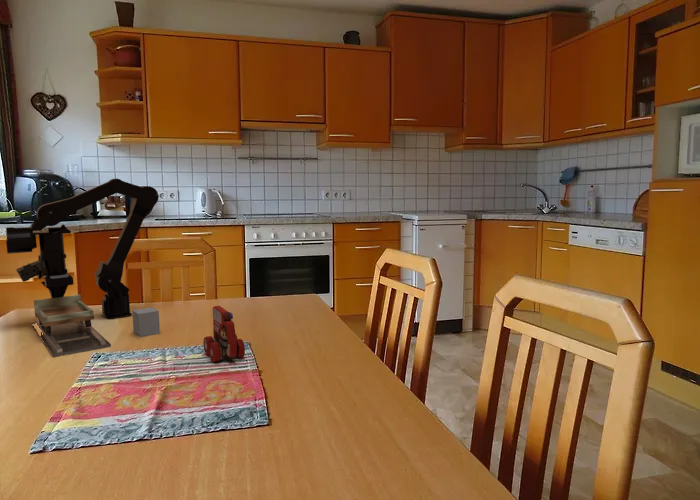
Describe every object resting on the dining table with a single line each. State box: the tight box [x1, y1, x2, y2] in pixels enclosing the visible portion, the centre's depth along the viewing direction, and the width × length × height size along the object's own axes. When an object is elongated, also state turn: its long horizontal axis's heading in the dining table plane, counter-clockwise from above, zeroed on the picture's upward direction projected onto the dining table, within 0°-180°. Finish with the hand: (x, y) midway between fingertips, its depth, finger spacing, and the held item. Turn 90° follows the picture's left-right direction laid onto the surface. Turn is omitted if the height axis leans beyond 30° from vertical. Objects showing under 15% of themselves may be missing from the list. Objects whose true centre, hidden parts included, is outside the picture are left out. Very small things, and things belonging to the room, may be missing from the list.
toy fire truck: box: [203, 305, 246, 363], centre depth 116 cm, size 7×12×10 cm, turn 30°
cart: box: [33, 294, 95, 334], centre depth 136 cm, size 11×16×6 cm
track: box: [35, 319, 112, 357], centre depth 133 cm, size 12×34×1 cm, turn 38°
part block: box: [131, 306, 161, 338], centre depth 134 cm, size 5×5×6 cm
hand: (57, 307), depth 144 cm, fingers closed
